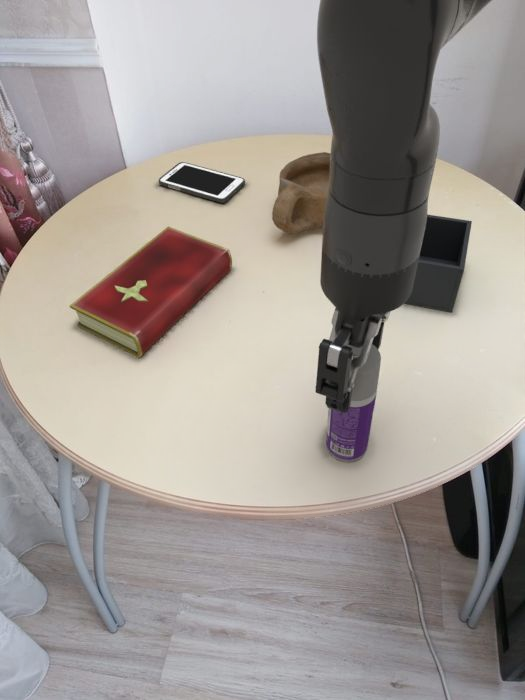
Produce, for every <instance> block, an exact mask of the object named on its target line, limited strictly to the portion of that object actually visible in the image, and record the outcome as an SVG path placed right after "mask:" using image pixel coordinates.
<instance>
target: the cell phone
mask: <svg viewBox="0 0 525 700" xmlns="http://www.w3.org/2000/svg"><path fill="white" fill-rule="evenodd" d="M158 184H159V185H160V186H163V187H166V188H170V189H174V190H178V191H180V192H183V193H186V194H189V195H192V196H196V197H200V198H203V199H206V200H210V201H213V202H215V203H216V202H217V203H221V204H224V203H226V202H228V201H229V200H230V198H232V197H233V196H234V194H235V193H237V192H239V191H240V190H241V189H242V188H243V187H245V184H246V179H245V178H243V177H241V176H237V175H234V174H230V173H227V172H223V171H218V170H216V169H212V168H207V167H204V166H200V165H197V164H194V163H189V162H185V161H181V162H178V163H177V164H176V165H174V166H173V167H172V168H171V169H169V170H168V171H166V172H165V173H164V174H163V175H161V177H160V178H158Z"/></svg>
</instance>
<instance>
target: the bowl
mask: <svg viewBox="0 0 525 700" xmlns="http://www.w3.org/2000/svg"><path fill="white" fill-rule="evenodd" d="M330 154H331V152H327V151H323V152H316V153H311V154H306V155H302V156H300V157H298V158H296V159H293V160H291V161H289V162H287V164H285V166H283V168H282V169H281V170H280V172H279V184H278V191H277V198H276V199H275V201H274V202H273V203H274V204H273V207H272V212H271V215H272V216H271V217H272V222H273V224H274V225H275V227H276V228H278V229H279V230H281V232H284V233H288V234H298V233H301V232H302V231H307V230H310V229H312V228H314V229H315V228H319V227H323V220H324V210H325V204H326V200H327V195H328V188H329V172H330Z"/></svg>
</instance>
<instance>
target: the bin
mask: <svg viewBox="0 0 525 700" xmlns="http://www.w3.org/2000/svg"><path fill="white" fill-rule="evenodd" d="M472 222H473V221H472V220H468V219H461V218H455V217H454V218H453V217H447V216H440V215H433V214H427V221H426V227H425V233H424V237H423V242H422V247H421V251H420V256H419V261H418V265H417V270H416V275H415V280H414V284H413V289H412V292H411V295H410V297H409V298H408V300H407V301H406V302H405V303H404V304H403V305H409V306H415V307H419V308H420V307H421V308H426V309H432V310H436V311H441V312H447V313H453V310H454V307H455V304H456V301H457V296H458V293H459V289H460V286H461V283H462V279H463V276H464V272H465V268H466V261H467V254H468V248H469V242H470V236H471V234H470V233H471V230H472V224H473V223H472Z"/></svg>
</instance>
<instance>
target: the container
mask: <svg viewBox="0 0 525 700" xmlns="http://www.w3.org/2000/svg"><path fill="white" fill-rule="evenodd" d="M348 347H351V348H353V354H354V355H357V356H359V355H360V352H361V349H362V347H360V348H357V347H353V346H350V345H348ZM379 350H380V349H377V348H376V347H375V346H374V345H373V344H372V345H371V348H370V351H369V354H368V358H367V361H366V363H365V365H363V366H362V367H360V368H358V371H357V374H356V377H355V380H354V387H353V389H352V397H351V404H350V408H349V410H348V412H346V413H343V412H342V413H341V412H338V411H336V410H333V409H330V408H327V409H328V410H327V423H326V424H327V425H326V435H325V436H326V438H325V447H326V450H327V452H328V453H329V455H330V456H331V457H333V458H334V459H335V460H337V461H340V462H344V463H352V462H353V463H354V462H356V461H358V460H360V459H362V458H363V457H364V456H365V455H366V453H367V450H368V445H369V439H370V434H371V428H372V422H373V416H374V412H375V411H374V410H375V405H376V400H377V394H378V386H379V378H380V369H381V363H382V362H381V361H382V355H381V352H380V351H379Z"/></svg>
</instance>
